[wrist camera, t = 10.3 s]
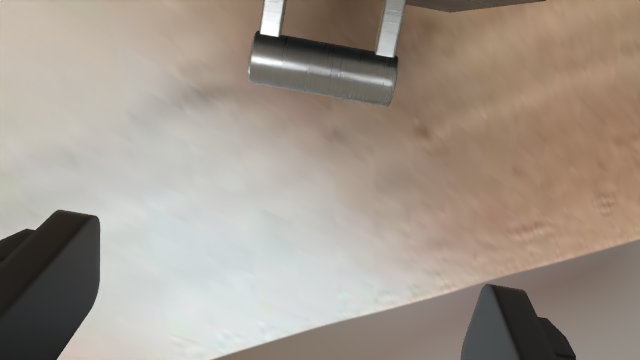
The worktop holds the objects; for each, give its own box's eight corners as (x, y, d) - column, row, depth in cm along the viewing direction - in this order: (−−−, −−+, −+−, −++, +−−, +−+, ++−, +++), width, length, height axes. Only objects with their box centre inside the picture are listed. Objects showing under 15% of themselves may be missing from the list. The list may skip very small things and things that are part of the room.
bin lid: (133, -105, 16) (119, 67, 18) (554, -27, 17) (511, 137, 18) (225, -45, 30) (214, 49, 32) (455, -3, 31) (434, 89, 32)
